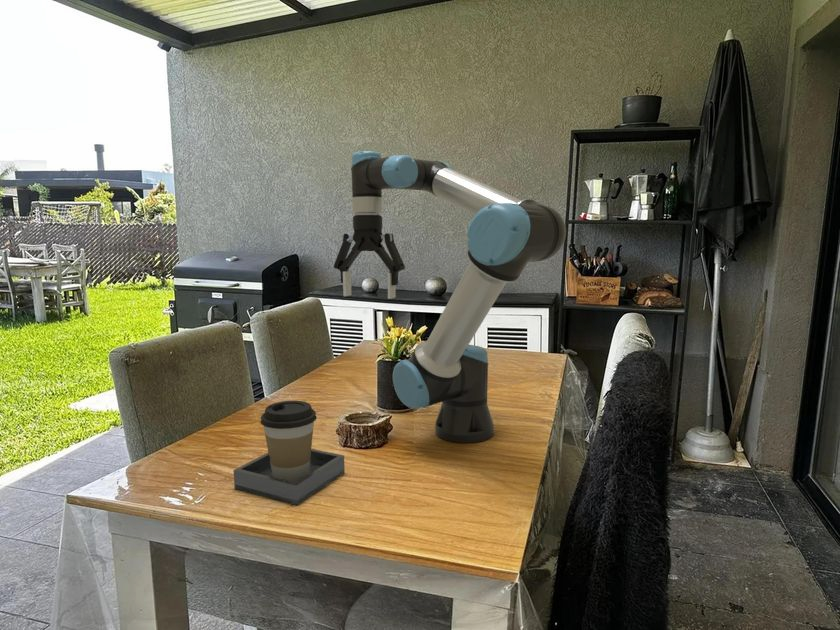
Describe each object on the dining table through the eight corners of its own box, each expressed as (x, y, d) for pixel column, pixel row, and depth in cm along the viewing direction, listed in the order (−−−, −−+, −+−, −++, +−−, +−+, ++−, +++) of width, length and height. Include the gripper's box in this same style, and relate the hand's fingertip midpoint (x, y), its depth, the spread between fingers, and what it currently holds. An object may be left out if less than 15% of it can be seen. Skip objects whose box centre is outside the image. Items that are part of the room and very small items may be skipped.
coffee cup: (272, 464, 123) (269, 398, 120) (323, 465, 122) (321, 399, 120) (255, 488, 111) (251, 416, 109) (311, 488, 111) (309, 416, 109)
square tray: (344, 473, 120) (344, 455, 120) (296, 505, 106) (296, 485, 106) (286, 460, 127) (285, 443, 127) (234, 488, 113) (233, 470, 113)
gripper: (417, 213, 140) (418, 297, 143) (335, 215, 151) (338, 293, 155) (403, 213, 134) (404, 300, 137) (319, 215, 145) (321, 296, 148)
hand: (369, 297), depth 146 cm, fingers open, 13 cm apart
